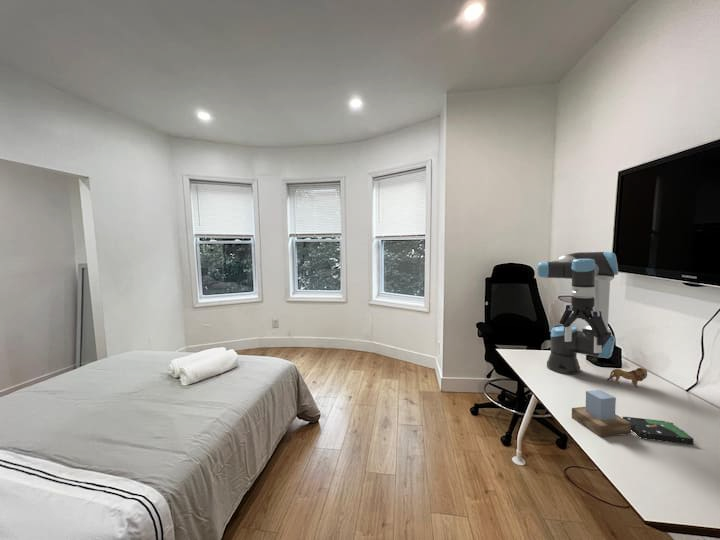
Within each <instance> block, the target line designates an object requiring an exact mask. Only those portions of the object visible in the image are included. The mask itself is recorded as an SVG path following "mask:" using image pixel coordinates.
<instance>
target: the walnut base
mask: <svg viewBox="0 0 720 540" xmlns="http://www.w3.org/2000/svg"><path fill="white" fill-rule="evenodd" d="M571 419H573V420H574V421H576V422H577V423H578V424H580V425H582V426H583V427H585V428H586V429H587V430H589V431H591V432H592V433H594V434H595V435H597V436H598V437H600V438H607V437H614V436H613V435H616V436H621V435H620V434H625V435H630V434H629V433H631V434H632V431H631V423H630V422H629V421H627V420H625V419H623V417H621V416H620V415H617V414H616V413H615V419H610V420H601V421H600V420H599V419H597V418H595V417H594V416H592V415H591V414H589V413H587V412H586V406H578V407H572V408H571ZM606 436H607V437H606Z"/></svg>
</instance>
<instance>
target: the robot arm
mask: <svg viewBox="0 0 720 540" xmlns="http://www.w3.org/2000/svg"><path fill="white" fill-rule="evenodd" d="M617 259H618V258H617V255H616V253H614V252H610V251H609V252H608V251H594V252H591V251H590V252H589V251H587V252H586V251H585V252H582V251H581V252H574V253H573V252H571V253H569V254H566V255H565V254H564V255H561V256H560V257H558V259H555V260H553V261H540V262H538V264H537V270H536V271H537V277H539V278H543V279H569V280H571V299H570V302H571V304H567V305H566V306H565V310H564V312H563V314H562V316H561V318H560V320H559V324H560V326H554V327H552V329H551V330H550V353H549V356H548V359H547V361H546V367H547V369H549V370H551V371H552V372H556V373H560V374H565V375H578V374H580V373H581V366H580V363H579V361H578V358H577V354H582V355H586V356H591V357H596V358H604V359H610V357H612V354H613V351H614V347H615V342H616V335H612V333H613V332H612V331H611V330H610V329H609V314H610V313H609V311H610V310H609V309H610V292H611V291H610V290H611V281H612V280H614V279H615V276H617V275H619V266H618V265H619V264H618V261H617ZM577 319H581V320H584V321H585V322H586V325H585V326H583V327H582V328H581V329H582V331H581V330H578V328H577V327H575V326H572V324H573V323H574V322H575V321H576V320H577ZM561 325H562V326H561Z"/></svg>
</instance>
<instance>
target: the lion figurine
mask: <svg viewBox="0 0 720 540" xmlns="http://www.w3.org/2000/svg"><path fill="white" fill-rule="evenodd" d="M621 377H622V378H623V379H626V380H630V381H631V385H632V386H634V387H635V388H636V387H638V388H639V386H638V382H643V381H644V380H645V379H646V378H647V377H648V370H647V369H645V368H643V367H637V368H636V369H632V370H631V371H627V370H622V369H620V368H615V369H612V371H611V372H610V375H609V377H608V378H607V379H606V381H612V380H614V378H615V381H616V384H617V385H622V383H621V382H620V381H619V379H620V378H621Z"/></svg>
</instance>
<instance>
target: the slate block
mask: <svg viewBox="0 0 720 540" xmlns="http://www.w3.org/2000/svg"><path fill="white" fill-rule="evenodd" d="M616 399H617V397H615V396H613V395H611V394H609V393H607V392H606V391H603V390H602V389H594V390H585V407H586V412H587V413H589V414H591V415H592V416H594V417H595V418H597V419H599V420H600V421H601V420H610V419H615V414H616V407H617V405H616V404H617V403H616Z"/></svg>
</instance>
